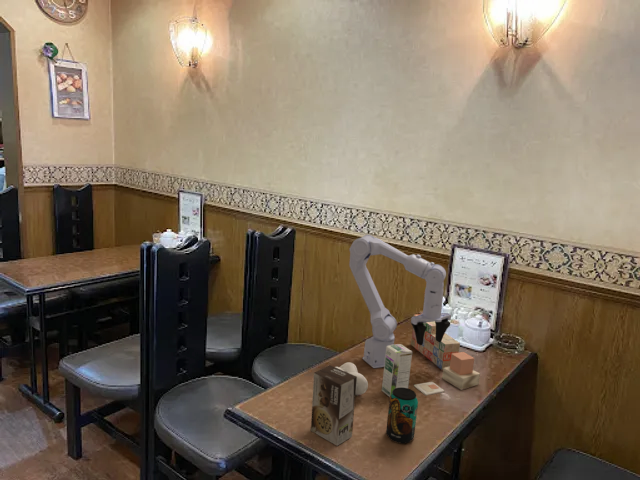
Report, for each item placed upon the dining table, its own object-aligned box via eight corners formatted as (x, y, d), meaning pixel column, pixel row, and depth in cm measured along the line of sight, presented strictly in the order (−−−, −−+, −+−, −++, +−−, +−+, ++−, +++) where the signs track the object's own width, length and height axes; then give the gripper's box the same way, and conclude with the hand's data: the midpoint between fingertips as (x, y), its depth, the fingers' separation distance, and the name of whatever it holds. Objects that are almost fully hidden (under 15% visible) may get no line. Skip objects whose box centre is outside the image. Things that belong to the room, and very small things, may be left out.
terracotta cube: (459, 375, 148) (461, 360, 147) (449, 368, 153) (451, 353, 152) (472, 373, 150) (474, 358, 149) (461, 366, 155) (463, 351, 154)
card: (425, 395, 141) (425, 393, 141) (413, 386, 147) (414, 384, 147) (444, 391, 144) (444, 390, 144) (432, 382, 150) (432, 381, 150)
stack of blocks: (457, 368, 161) (461, 334, 159) (441, 370, 159) (445, 335, 157) (424, 343, 181) (428, 313, 179) (410, 344, 179) (413, 313, 177)
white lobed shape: (318, 387, 142) (320, 359, 140) (355, 384, 146) (357, 356, 144) (330, 407, 131) (333, 377, 130) (370, 403, 135) (373, 374, 134)
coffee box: (353, 436, 119) (358, 376, 116) (336, 447, 114) (341, 385, 111) (325, 421, 125) (330, 363, 122) (309, 430, 120) (313, 371, 117)
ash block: (461, 390, 147) (462, 378, 146) (442, 379, 153) (443, 368, 152) (478, 385, 151) (480, 373, 150) (459, 374, 158) (460, 363, 157)
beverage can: (381, 437, 119) (385, 393, 117) (393, 425, 125) (397, 383, 122) (407, 448, 115) (412, 403, 113) (418, 435, 121) (423, 392, 119)
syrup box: (380, 390, 143) (385, 345, 140) (396, 387, 145) (401, 343, 143) (391, 400, 138) (396, 353, 135) (408, 396, 140) (413, 350, 138)
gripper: (422, 308, 146) (418, 350, 148) (459, 304, 152) (454, 344, 154) (408, 301, 152) (405, 341, 155) (444, 298, 158) (440, 336, 161)
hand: (428, 342), depth 155 cm, fingers open, 7 cm apart
